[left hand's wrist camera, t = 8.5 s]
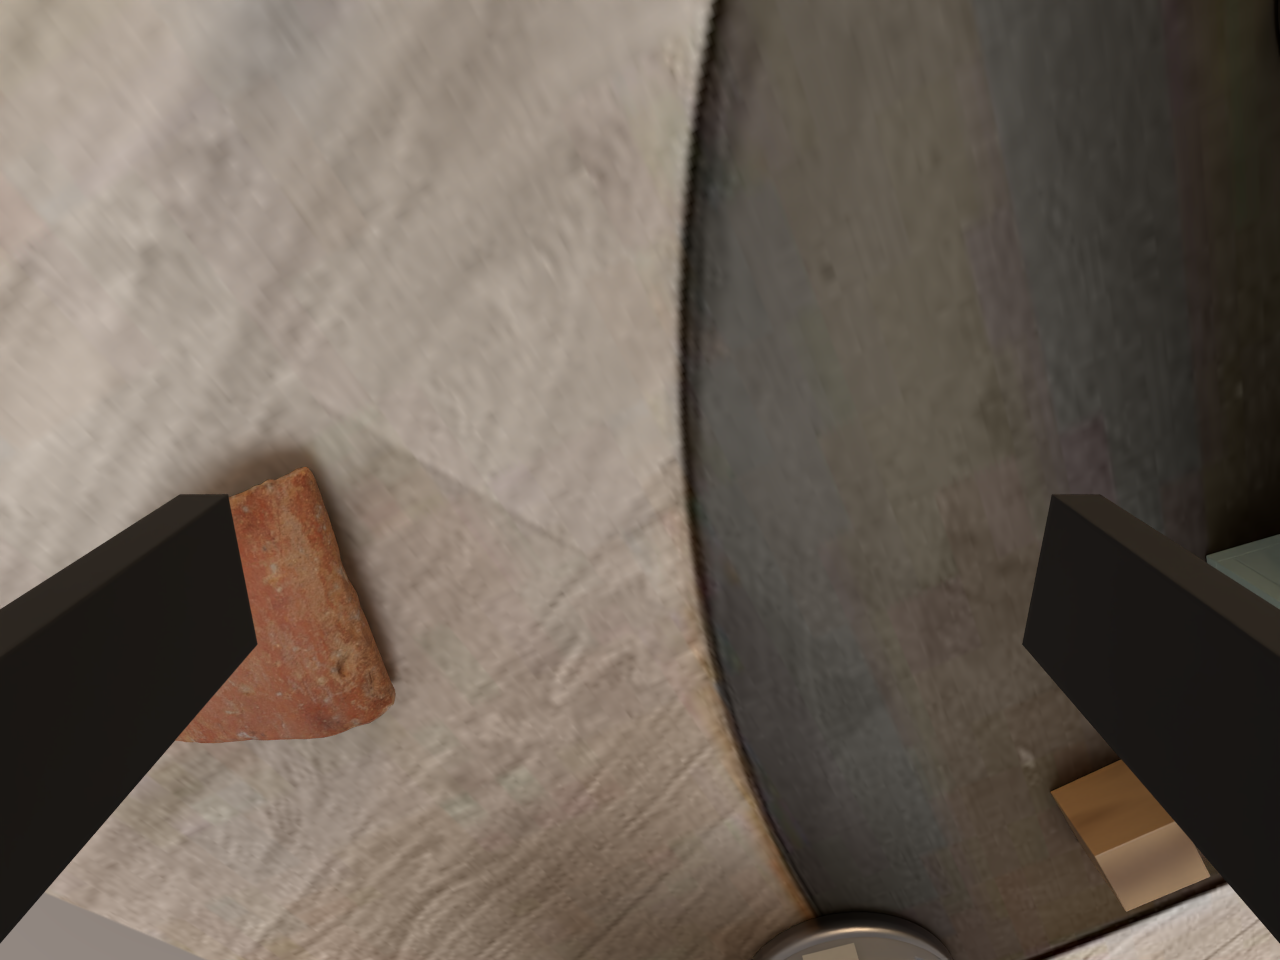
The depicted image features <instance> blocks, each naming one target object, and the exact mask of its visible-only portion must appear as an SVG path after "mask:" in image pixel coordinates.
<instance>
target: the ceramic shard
mask: <svg viewBox="0 0 1280 960" xmlns="http://www.w3.org/2000/svg"><path fill="white" fill-rule="evenodd" d="M229 502H230V507H231V512H232V517H233V522H234V527H235V532H236V537H237V542H238V547H239V552H240V557H241V562H242V567H243V573H244V578H245V583H246V588H247V593H248V598H249V603H250V608H251V613H252V618H253V623H254V628H255V633H256V638H257V643H258V645H257V646H256V647H255V648H254V649H253V650H252V652H251V653H250V654H249V655H248V656H247V657H246V658H245V660H244V661H243V662H242V663H241V664H240V665H239V667H238V668H237V669H236V670H235V671H234V672H233V674H232V675H231V676H230V677H229V678H228V679H227V681H226V682H225V683H224V684H223V685H222V686H221V688H220V689H219V690H218V691H217V692H216V693H215V694H214V696H213V697H212V698H211V699H210V700H209V701H208V703H207V704H206V705H205V706H204V707H203V708H202V710H201V711H200V712H199V713H198V714H197V715H196V717H195V718H194V719H193V720H192V721H191V722H190V724H189V725H188V726H187V727H186V728H185V729H184V730H183V732H182V733H181V734H180V735H179V736H178V737H177V739H176V741H184V742H199V743H222V742H233V741H244V740H251V739H255V740H279V739H311V738H324V737H328V736H332V735H336V734H339V733H341V732H344V731H347V730H349V729H351V728H353V727H356V726H360V725H364V724H368V723H370V722H372V721H374V720H375V719H377V718H378V717H380V716H381V715H382V714H384V713H385V712H386V711H387V710H388V709H389V708H390V707H391V705H393V704H394V701H395V689H394V687H393V685H392V683H391V680H390V678H389V676H388V673H387V671H386V668H385V666H384V663H383V661H382V658H381V656H380V653H379V650H378V648H377V645H376V643H375V640H374V638H373V635H372V632H371V630H370V627H369V624H368V622H367V619H366V617H365V615H364V613H363V610H362V608H361V607H360V603H359V599H358V595H357V593H356V591H355V589H354V587H353V586H352V584H351V583H350V581H349V579H348V577H347V575H346V572H345V570H344V567H343V565H342V562H341V559H340V551H339V547H338V545H337V542H336V538H335V535H334V532H333V529H332V526H331V523H330V519H329V516H328V514H327V511H326V508H325V505H324V502H323V499H322V496H321V493H320V491H319V488H318V485H317V483H316V480H315V478H314V476H313V474H312V472H311V471H310V470H309V469H308V468H307V467H302V468H298V469H296V470H294V471H292V472H291V473H289V474H287V475H285V476H284V477H280V478H278V479H277V480H270V479H268V480H267V481H265V482H264V483H262V484H260V485H256V486H253V487H252V488H250V489H248V490H246V491H245V492H242V493H239V494H236V495H234V496H231V497H229Z"/></svg>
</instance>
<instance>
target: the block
mask: <svg viewBox="0 0 1280 960" xmlns="http://www.w3.org/2000/svg"><path fill="white" fill-rule="evenodd" d="M1051 794H1052V796H1053V798H1054V800H1055V801H1056V803H1057V805H1058V807H1059V808H1060V810H1061V812H1062V814H1063V815H1064V817H1065V819H1066V821H1067V822H1068V824H1069V826H1070V827H1071V829H1072V831H1073V833H1074V834H1075V836H1076V838H1077V840H1078V841H1079V843H1080V845H1081V846H1082V848H1083V849H1084V851H1085V852H1086V854H1087V855H1088V856H1089V858H1090V859H1091V861H1092V862H1093V864H1094V865H1095V867H1096V868H1097V870H1098V871H1099V873H1100V874H1101V876H1102V877H1103V879H1104V880H1105V881H1106V883H1107V884H1108V886H1109V887H1110V889H1111V890H1112V892H1113V893H1114V895H1115V896H1116V898H1117V899H1118V901H1119V902H1120V904H1121V905H1122V906H1123V908H1124V909H1125V911H1129V910H1131V909H1134V908H1136V907H1138V906H1141V905H1143V904H1146V903H1148V902H1150V901H1153V900H1155V899H1158V898H1160V897H1162V896H1165V895H1167V894H1170V893H1172V892H1174V891H1177V890H1179V889H1182V888H1184V887H1186V886H1189V885H1191V884H1193V883H1196V882H1198V881H1201V880H1203V879H1205V878H1208V877H1210V875H1209V873H1208V871H1207V869H1206V867H1205V865H1204V863H1203V861H1202V859H1201V857H1200V855H1199V853H1198V851H1197V849H1196V847H1195V845H1194V843H1193V842H1192V841H1191V840H1190V838H1189V837H1188V836H1187V835H1186V834H1185V833H1184V832H1183V830H1182V829H1181V828H1180V827H1179V826H1178V825H1177V823H1176V822H1175V821H1174V820H1173V819H1172V818H1171V816H1170V815H1169V814H1168V813H1167V812H1166V811H1165V809H1164V808H1163V807H1162V806H1161V805H1160V804H1159V802H1158V801H1157V800H1156V799H1155V798H1154V797H1153V796H1152V794H1151V793H1150V792H1149V791H1148V790H1147V789H1146V787H1145V786H1144V785H1143V784H1142V783H1141V782H1140V780H1139V779H1138V778H1137V777H1136V776H1135V775H1134V773H1133V772H1132V771H1131V770H1130V769H1129V768H1128V766H1127V765H1126V764H1125V763H1124V762H1123V761H1122V760H1119V761H1117V762H1114V763H1112V764H1110V765H1108V766H1106V767H1103V768H1101V769H1099V770H1097V771H1095V772H1093V773H1090V774H1088V775H1086V776H1084V777H1082V778H1079V779H1077V780H1075V781H1073V782H1071V783H1069V784H1066V785H1064V786H1062V787H1060V788H1058V789H1055V790H1053V791H1051Z"/></svg>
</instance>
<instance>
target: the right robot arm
mask: <svg viewBox="0 0 1280 960" xmlns="http://www.w3.org/2000/svg"><path fill="white" fill-rule="evenodd" d="M1278 23H1279V32H1280V0H1278Z"/></svg>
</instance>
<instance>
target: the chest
mask: <svg viewBox="0 0 1280 960" xmlns="http://www.w3.org/2000/svg"><path fill="white" fill-rule="evenodd" d="M1206 558H1207V563H1208V564H1210V565H1211V566H1213V567H1214V568H1216V569H1217V570H1219V571H1220V572H1222V573H1224V574H1225V575H1227V576H1228V577H1230V578H1231V579H1233V580H1235V581H1236V582H1238V583H1239V584H1241V585H1242V586H1244V587H1245V588H1247V589H1249V590H1250V591H1252V592H1253V593H1255V594H1256V595H1258V596H1260V597H1261V598H1263V599H1264V600H1266V601H1267V602H1269V603H1271V604H1272V605H1274V606H1275V607H1277V608H1278V609H1280V534H1278V535H1275V536H1271V537H1268V538H1265V539H1261V540H1258V541H1254V542H1251V543H1247V544H1244V545H1241V546H1237V547H1234V548H1230V549H1227V550H1224V551H1220V552H1217V553H1213V554H1210V555H1207V556H1206Z"/></svg>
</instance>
